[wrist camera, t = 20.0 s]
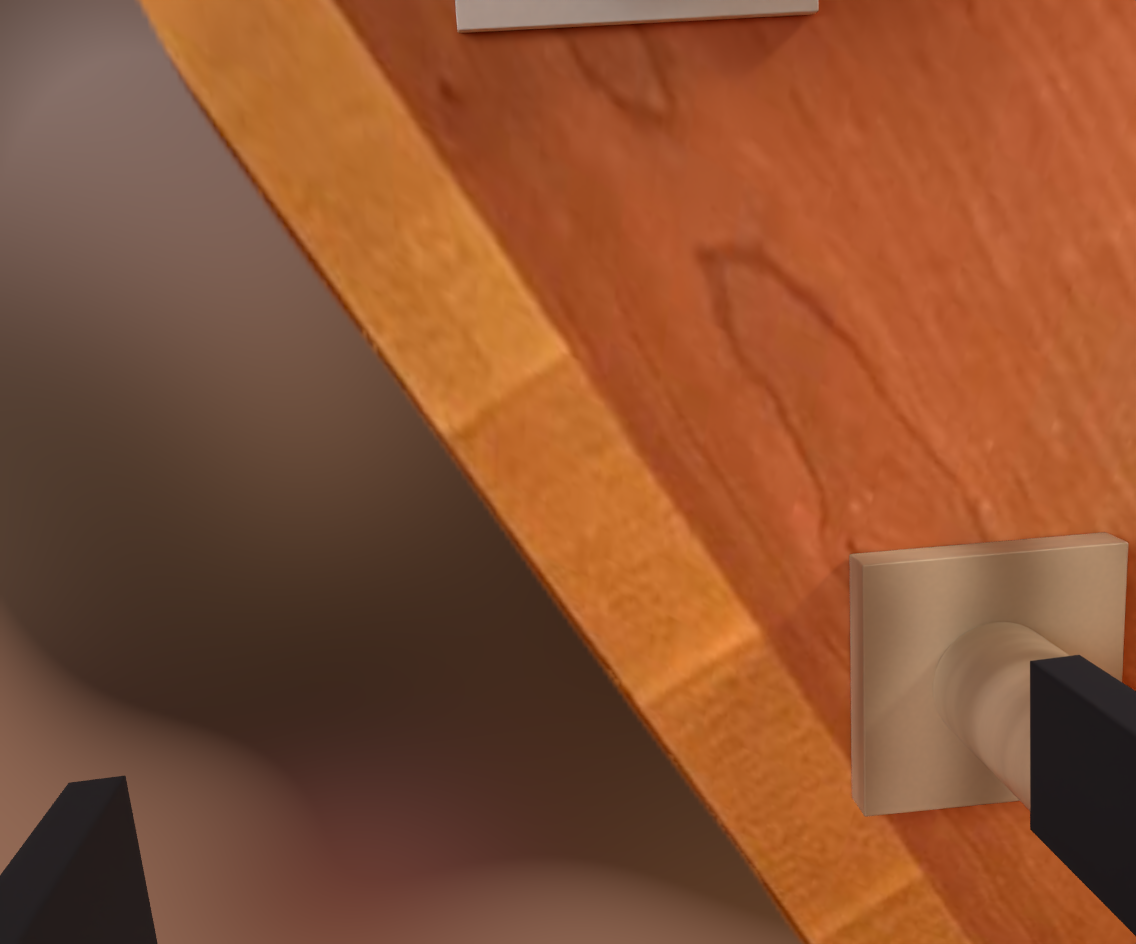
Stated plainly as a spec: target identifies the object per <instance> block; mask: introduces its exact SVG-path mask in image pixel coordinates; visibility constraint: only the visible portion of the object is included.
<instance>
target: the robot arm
mask: <svg viewBox="0 0 1136 944" xmlns="http://www.w3.org/2000/svg"><path fill="white" fill-rule="evenodd" d="M1030 829H1031V830H1032V831H1033V832H1034V833H1035V834H1036V835H1037V837H1038V838H1039V839H1040V840H1041V841H1042V842H1043V843H1044V844H1045V845H1046V846H1047V847H1048V848H1049V849H1050V850H1051V851H1052V852H1053V853H1054V854H1055V855H1056V856H1057V857H1058V858H1059V859H1060V860H1061V861H1062V862H1063V863H1064V864H1065V865H1066V866H1067V867H1068V868H1069V869H1070V870H1071V871H1072V872H1073V873H1074V874H1075V875H1076V876H1077V877H1078V878H1079V879H1080V880H1081V881H1082V882H1083V883H1084V884H1085V885H1086V886H1087V887H1088V888H1089V889H1090V890H1091V891H1092V892H1093V893H1094V894H1095V895H1096V896H1097V897H1098V898H1099V899H1100V900H1101V901H1102V902H1103V903H1104V904H1105V905H1106V906H1107V907H1108V908H1109V909H1110V910H1111V911H1112V912H1113V913H1114V914H1115V915H1116V916H1117V917H1118V919H1119V920H1120V921H1121V922H1122V923H1123V924H1124V925H1125V926H1126V927H1127V928H1128V929H1129V930H1130V931H1131V932H1132V933H1133V934H1134V935H1135V936H1136V691H1134V690H1133V689H1131V688H1130V687H1128V686H1127V685H1125V684H1124V683H1122V682H1121V681H1119V680H1118V679H1116V678H1114V677H1113V676H1111V675H1110V674H1108V673H1107V672H1105V671H1104V670H1102V669H1101V668H1099V667H1098V666H1096V665H1094V664H1093V663H1091V662H1090V661H1088V660H1087V659H1085V658H1084V657H1082V656H1081V655H1073V656H1065V657H1057V658H1049V659H1041V660H1033V661H1030ZM0 944H157V939H156V934H155V928H154V923H153V918H152V913H151V907H150V902H149V897H148V892H147V886H146V881H145V876H144V871H143V866H142V860H141V855H140V850H139V845H138V839H137V834H136V829H135V824H134V819H133V813H132V808H131V803H130V798H129V793H128V787H127V782H126V777H125V776H119V777H111V778H104V779H95V780H89V781H81V782H72V783H68V785H67V786H66V787H65V789H64V790H63V791H62V793H61V794H60V795H59V797H58V798H57V800H56V801H55V802H54V804H53V805H52V806H51V808H50V809H49V810H48V812H47V813H46V814H45V816H44V817H43V819H42V820H41V821H40V822H39V824H38V825H37V827H36V828H35V829H34V831H33V832H32V833H31V835H30V836H29V837H28V839H27V840H26V841H25V843H24V844H23V845H22V847H21V848H20V850H19V851H18V852H17V853H16V855H15V856H14V858H13V859H12V860H11V862H10V863H9V864H8V866H7V867H6V868H5V870H4V871H3V872H2V874H1V875H0Z"/></svg>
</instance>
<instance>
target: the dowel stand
mask: <svg viewBox="0 0 1136 944" xmlns="http://www.w3.org/2000/svg"><path fill="white" fill-rule="evenodd" d="M1127 563H1128V542H1126V541H1124V540H1122V539H1119V538H1117V537H1115V536H1113V535H1111V534H1108V533H1106V532H1103V533H1091V534H1080V535H1068V536H1056V537H1045V538H1033V539H1021V540H1010V541H998V542H986V543H975V544H963V545H951V546H940V547H928V548H917V549H905V550H893V551H882V552H870V553H858V554H850V655H851V757H852V798H853V800H854V801H855V803H856V804H857V806H858V807H859V809H860V810H861V812H862V813H863V815H864V816H876V815H886V814H896V813H905V812H915V811H925V810H935V809H945V808H954V807H964V806H974V805H984V804H994V803H1003V802H1013V801H1021V802H1022V803H1023V804H1024V805H1025V806H1026V807H1027V808H1028V809H1029V810H1030V661H1033V660H1041V659H1049V658H1057V657H1065V656H1073V655H1081V656H1082V657H1084V658H1085V659H1087V660H1088V661H1090V662H1091V663H1093V664H1094V665H1096V666H1098V667H1099V668H1101V669H1102V670H1104V671H1105V672H1107V673H1108V674H1110V675H1111V676H1113V677H1114V678H1116V679H1118V680H1119V681H1121V682H1122V671H1123V649H1124V628H1125V606H1126V585H1127Z"/></svg>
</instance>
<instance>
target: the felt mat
mask: <svg viewBox="0 0 1136 944" xmlns="http://www.w3.org/2000/svg"><path fill="white" fill-rule="evenodd" d="M455 5H456V18H457V30H458V32H459V33H467V32H486V31H505V30H525V29H544V28H563V27H582V26H601V25H620V24H639V23H658V22H677V21H696V20H715V19H734V18H754V17H773V16H792V15H811V14H815V13H816V12H818V10H819V9H818V0H455Z"/></svg>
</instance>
